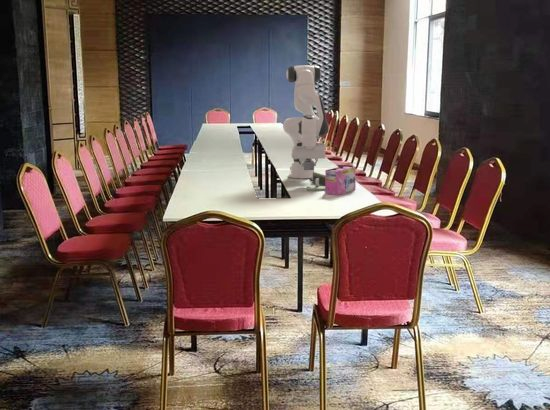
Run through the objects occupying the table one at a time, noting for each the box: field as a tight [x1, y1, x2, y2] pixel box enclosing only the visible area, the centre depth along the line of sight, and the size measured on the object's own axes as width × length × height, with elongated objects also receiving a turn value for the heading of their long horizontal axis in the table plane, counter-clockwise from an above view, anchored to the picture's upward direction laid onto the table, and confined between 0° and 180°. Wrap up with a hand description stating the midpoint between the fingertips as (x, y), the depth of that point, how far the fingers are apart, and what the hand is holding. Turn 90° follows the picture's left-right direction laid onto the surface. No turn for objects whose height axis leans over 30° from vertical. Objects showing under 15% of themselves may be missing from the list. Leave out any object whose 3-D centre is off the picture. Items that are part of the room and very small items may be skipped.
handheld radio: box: [308, 171, 325, 186], centre depth 366 cm, size 7×3×25 cm
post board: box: [306, 178, 325, 192], centre depth 348 cm, size 8×16×6 cm, turn 95°
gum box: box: [324, 165, 357, 196], centre depth 341 cm, size 24×8×14 cm, turn 145°
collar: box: [303, 159, 315, 171], centre depth 357 cm, size 6×6×5 cm
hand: (308, 166), depth 357 cm, fingers closed on collar, 6 cm apart
